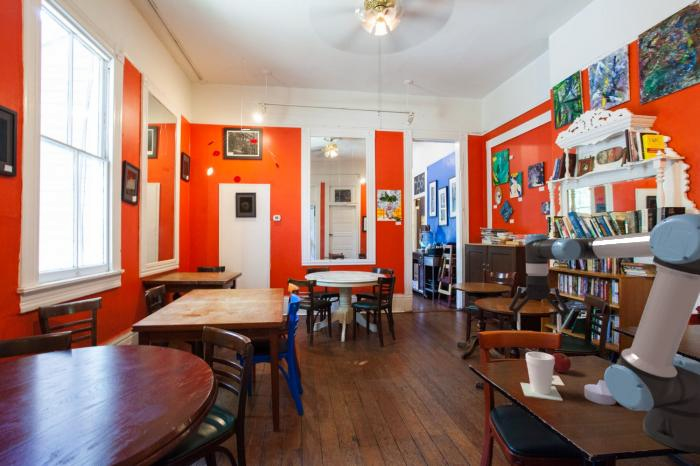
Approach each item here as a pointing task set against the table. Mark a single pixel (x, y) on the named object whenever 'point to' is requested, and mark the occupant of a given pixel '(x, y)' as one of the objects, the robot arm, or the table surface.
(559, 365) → the apple
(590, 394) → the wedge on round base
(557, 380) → the cream card
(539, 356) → the foam cup
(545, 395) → the sage mat
